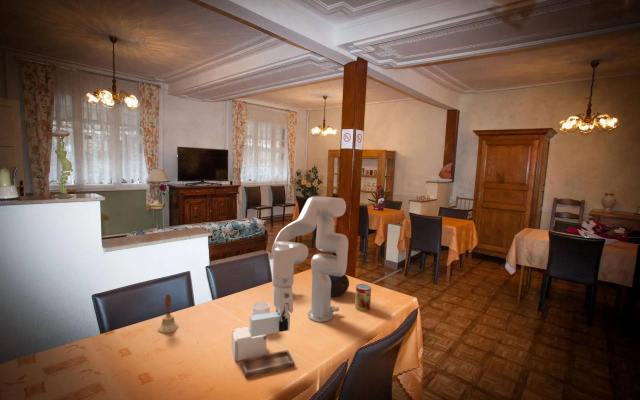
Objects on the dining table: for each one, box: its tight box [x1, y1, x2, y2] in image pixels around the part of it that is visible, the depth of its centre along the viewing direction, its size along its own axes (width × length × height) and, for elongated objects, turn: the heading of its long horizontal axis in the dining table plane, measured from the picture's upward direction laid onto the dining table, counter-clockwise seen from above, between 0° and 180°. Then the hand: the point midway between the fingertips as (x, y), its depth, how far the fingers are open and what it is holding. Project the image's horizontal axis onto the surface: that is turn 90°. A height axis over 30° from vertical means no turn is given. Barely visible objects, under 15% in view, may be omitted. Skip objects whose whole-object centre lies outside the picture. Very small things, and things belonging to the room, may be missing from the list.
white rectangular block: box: [249, 311, 291, 337], centre depth 114 cm, size 14×4×6 cm, turn 113°
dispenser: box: [231, 326, 268, 362], centre depth 123 cm, size 12×8×9 cm, turn 113°
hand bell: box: [157, 293, 179, 334], centre depth 138 cm, size 8×8×16 cm
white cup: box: [252, 301, 271, 315], centre depth 143 cm, size 8×8×10 cm
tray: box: [240, 349, 295, 379], centre depth 116 cm, size 18×8×2 cm, turn 113°
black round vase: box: [329, 253, 350, 297], centre depth 184 cm, size 18×18×28 cm
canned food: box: [354, 283, 372, 312], centre depth 166 cm, size 8×8×12 cm
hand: (281, 327), depth 116 cm, fingers closed on white rectangular block, 4 cm apart
